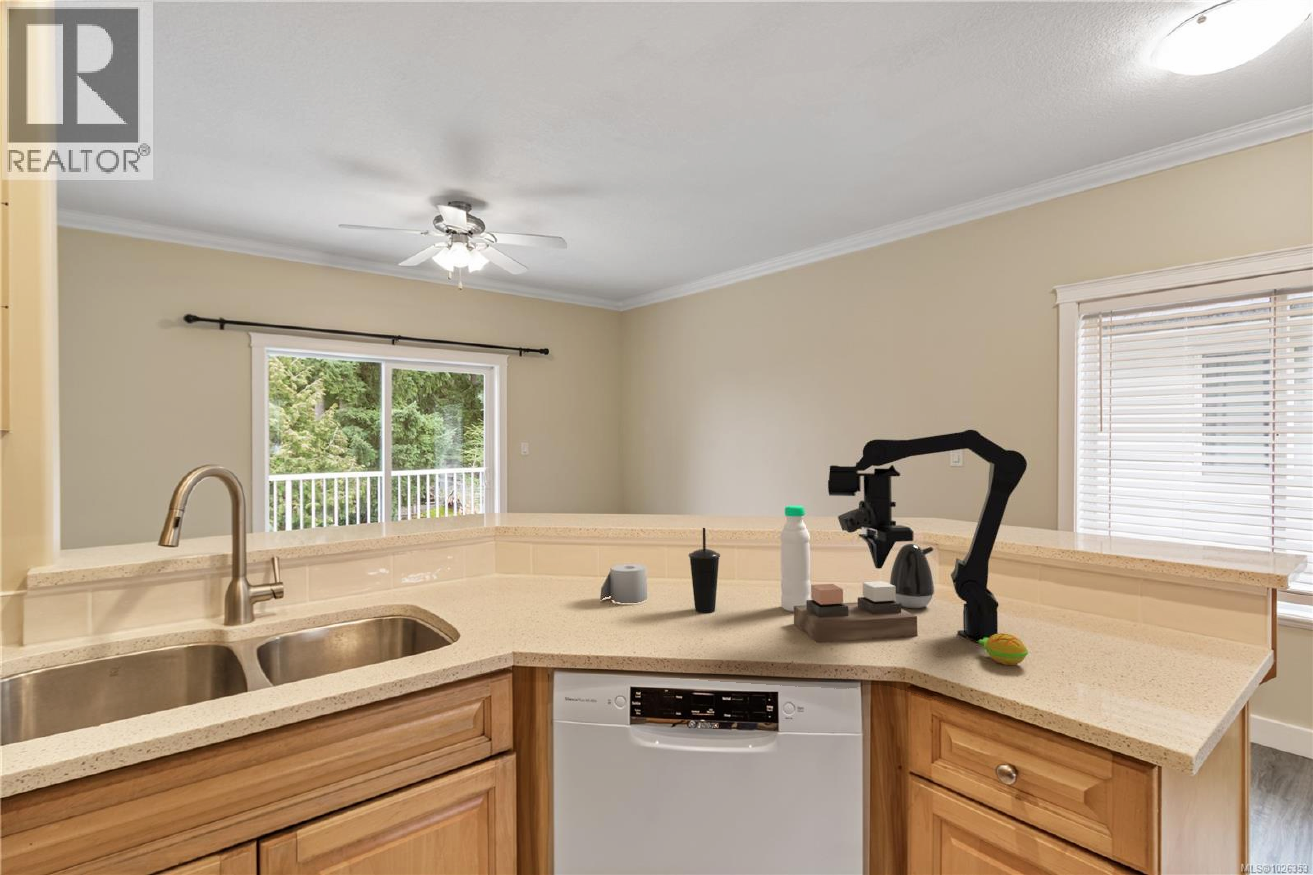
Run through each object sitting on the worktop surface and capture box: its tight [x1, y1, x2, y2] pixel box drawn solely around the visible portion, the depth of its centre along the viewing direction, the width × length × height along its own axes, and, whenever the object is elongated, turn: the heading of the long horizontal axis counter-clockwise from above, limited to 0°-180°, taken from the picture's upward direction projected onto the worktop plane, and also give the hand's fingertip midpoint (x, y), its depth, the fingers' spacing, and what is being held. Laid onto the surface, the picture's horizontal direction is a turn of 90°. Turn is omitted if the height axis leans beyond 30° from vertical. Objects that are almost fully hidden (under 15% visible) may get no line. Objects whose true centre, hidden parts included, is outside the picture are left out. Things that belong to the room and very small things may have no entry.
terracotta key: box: [810, 583, 844, 605], centre depth 134 cm, size 5×5×3 cm
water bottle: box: [780, 505, 812, 613], centre depth 152 cm, size 7×7×25 cm
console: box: [793, 596, 918, 643], centre depth 135 cm, size 13×22×6 cm, turn 99°
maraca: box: [977, 632, 1029, 666], centre depth 115 cm, size 7×10×5 cm
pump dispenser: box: [889, 543, 935, 609], centre depth 154 cm, size 10×10×15 cm
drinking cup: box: [688, 527, 721, 614], centre depth 152 cm, size 8×8×20 cm
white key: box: [862, 580, 896, 602], centre depth 136 cm, size 5×5×3 cm
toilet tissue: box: [599, 563, 648, 603], centre depth 161 cm, size 9×13×9 cm
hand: (878, 568), depth 136 cm, fingers closed
